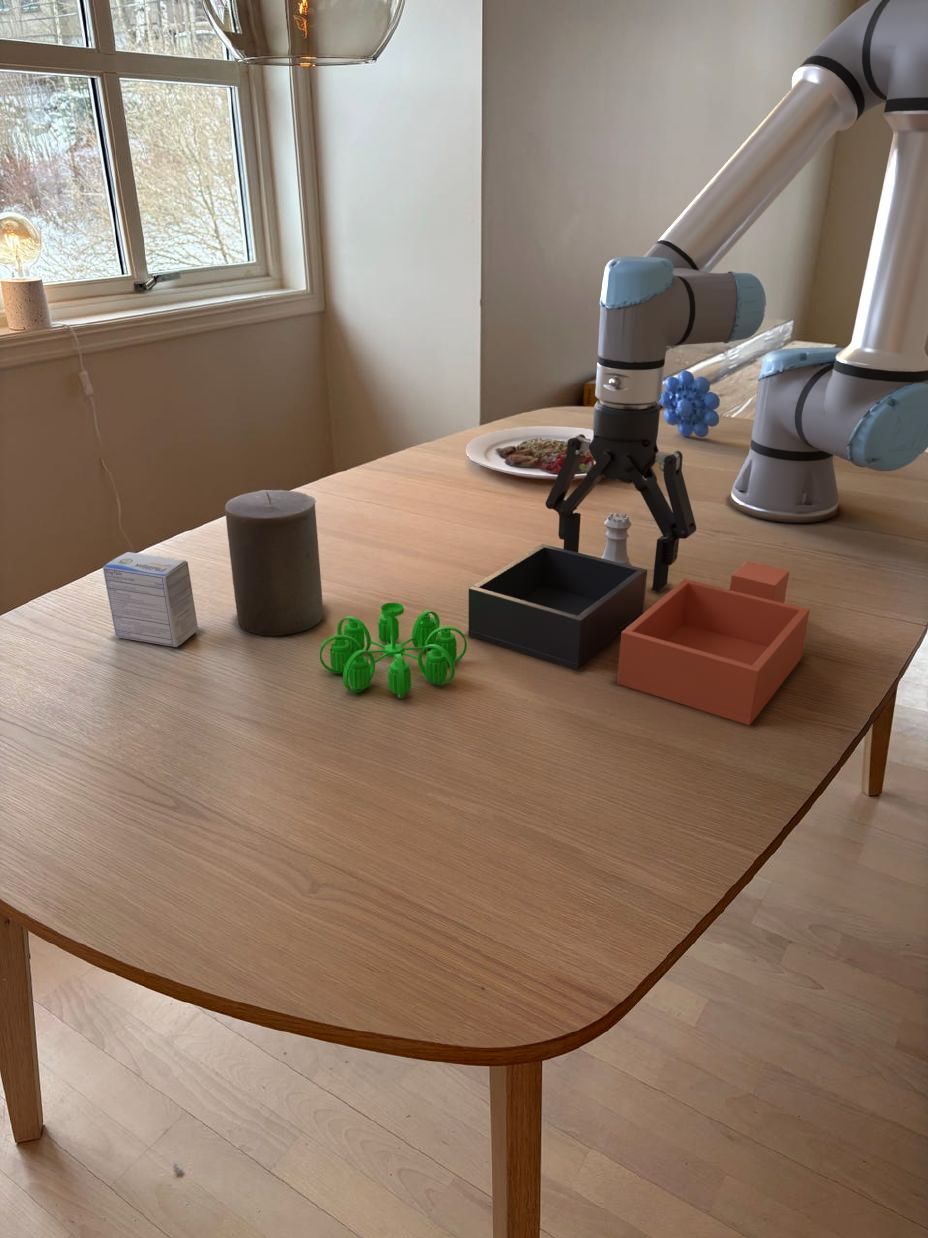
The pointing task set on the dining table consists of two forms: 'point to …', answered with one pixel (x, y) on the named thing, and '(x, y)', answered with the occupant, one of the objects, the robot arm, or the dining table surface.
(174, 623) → the medicine box
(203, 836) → the dining table surface
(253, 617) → the pillar candle
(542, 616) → the charcoal bin
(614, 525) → the rook chess piece
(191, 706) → the dining table surface
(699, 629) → the terracotta bin
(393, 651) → the chandelier
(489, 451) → the plated food
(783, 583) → the terracotta block
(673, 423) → the grapes
